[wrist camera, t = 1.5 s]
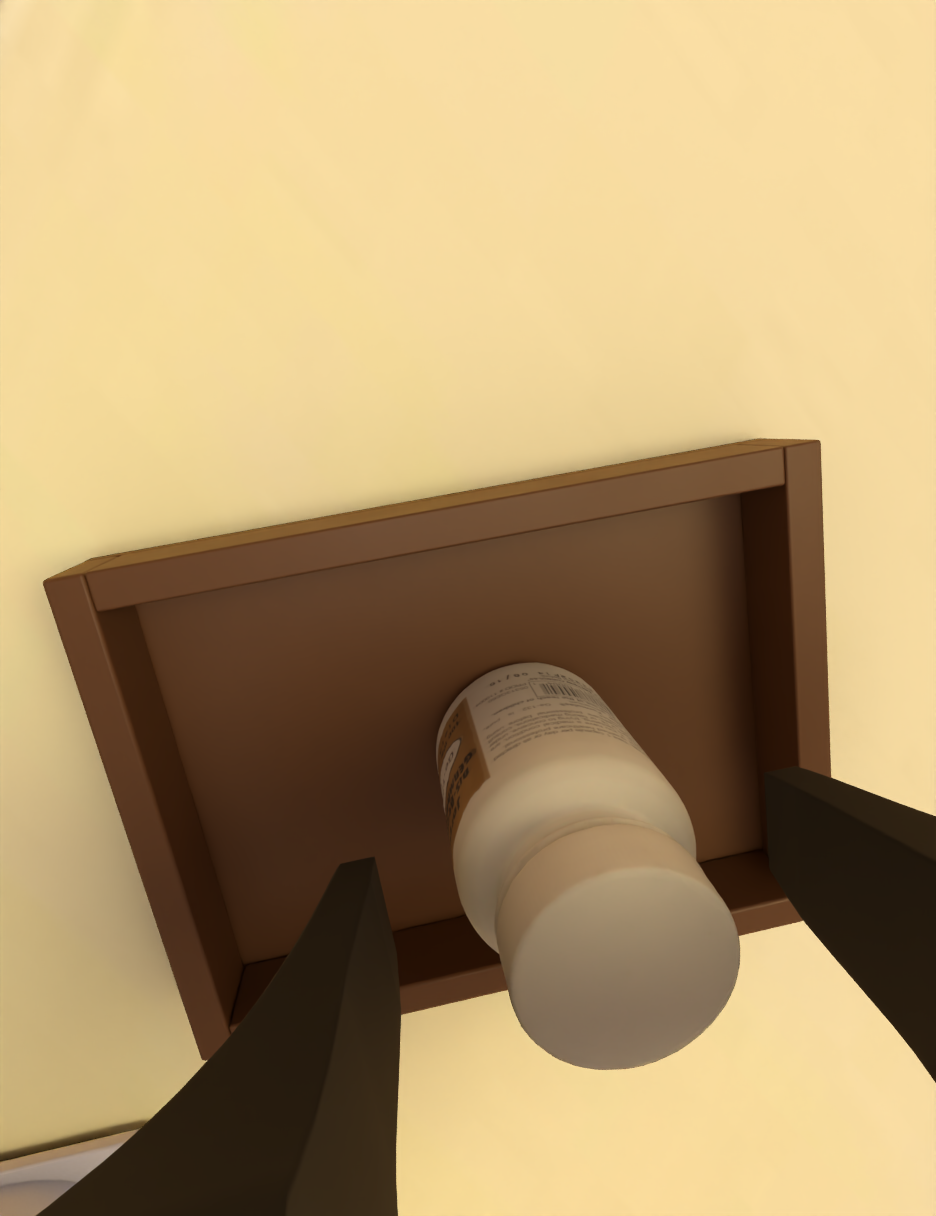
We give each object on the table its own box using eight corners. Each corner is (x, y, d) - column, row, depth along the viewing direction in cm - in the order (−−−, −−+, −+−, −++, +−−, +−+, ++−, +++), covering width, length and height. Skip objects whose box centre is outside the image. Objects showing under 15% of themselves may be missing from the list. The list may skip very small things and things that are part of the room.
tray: (223, 984, 19) (201, 1063, 16) (90, 558, 16) (39, 580, 13) (783, 858, 20) (836, 915, 17) (760, 437, 17) (821, 439, 14)
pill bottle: (407, 699, 17) (427, 915, 9) (577, 631, 17) (732, 791, 9) (471, 847, 18) (534, 1143, 11) (630, 783, 18) (804, 1031, 11)
